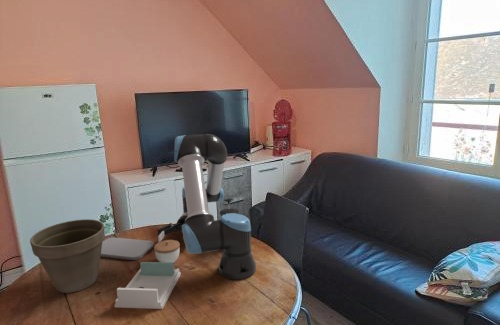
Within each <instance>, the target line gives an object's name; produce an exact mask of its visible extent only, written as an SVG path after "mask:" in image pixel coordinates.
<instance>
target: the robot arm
mask: <svg viewBox="0 0 500 325" xmlns="http://www.w3.org/2000/svg"><path fill="white" fill-rule="evenodd" d="M173 150H174V152H173V153H174V156H173V158H174V159H173V160H174V163H177V165H178V167H180V168H182V169H181V171H182V177H183V186H184V187H182V189H181V190H182V191H181V193H182V195H181V197H182V210H183V213H182V214H181V216H180V217H179V218H178V220H177V221H176V223H175V224H173V223H172V222H170V223H168V224H166V225H165V226H163V227H160V228H158V229H157V235H158V236H157V240H158V241H157V243H159V242H161V241H163V239H164V238H165V236H166V235H169V234H173V233H177V232H181V233H182V237H183V242H184V244H185V249H186V251H187V253H188V254H190V255H194V254H199V255H200V254H204V253H209V252H210V253H211V252H217V251H222V253H221V257H220V261H219V265H218V272H219V274H220V276H222V277H223V278H226V279H229V280H243V279H247V278H249V277H251V276H253V275H254V274H255V273H256V270H257V265H256V263H257V262H256V260H255V258H254V256H253V253H252V237H251V236H252V234H251V233H252V226H251V221H250V219H249V218H248V217H247V216H245V215H244V214H239V213H238V214H235V213H228V214H225V215H222V216H221V215H220V219H218V220H215V219H214V218H215V217H214V215H213V214H212V213H210V210H209V203H217V202H222V201H224V200H225V199H224V198H225V197H224V196H225V193H224V189H223V187H222V181H223V172H224V166H225V163H226V161H227V160H228V159H227V158H228V150H227V147H226V145H225V143H224V142H223V141H222V140H221V138H220V137H218V136H217V135H215V134H211V133H204V134H190V135H188V134H187V135H186V134H184V135H178V136H176V137H175V139H174V149H173ZM205 160H207V162H208V163H207V165H208V166H207V176H206V184H205V179H204V178H205V177H204V172H203V171H204V170H203V165H204V163H205Z"/></svg>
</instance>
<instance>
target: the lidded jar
mask: <svg viewBox="0 0 500 325" xmlns="http://www.w3.org/2000/svg"><path fill="white" fill-rule="evenodd" d="M153 249H154V254H155V258H156V260H157V262H173V263H176V261H177V260H178V258H179V256H180V251H181V250H180V249H181V248H180V242H179V241H178V240H176V239H175V240H174V239H166V240H161V242H157V243H156V244H154V245H153Z"/></svg>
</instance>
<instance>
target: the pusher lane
mask: <svg viewBox="0 0 500 325" xmlns="http://www.w3.org/2000/svg"><path fill="white" fill-rule="evenodd" d="M174 271H175V273H174V274H173V275H141V268H139V270H138V271H137V272H136V274H134V276H133V277H132V278H131V280H130V281H129V282H128V284H127V285H126V286H125V287H117V289H116V295H117V298H116V299H115V300H114V302H115V304H114V308H120V309H121V308H125V309H148V310H150V309H154V310H155V309H156V310H163V309H164V307H165V305H166V303H167V301H168V299H169V298H170V296H171V294H172V292H173V290H174V288H175V286H176V284H177V283H178V280H179V279H180V276H181V274H182V273H181V271H180V268H175V269H174Z"/></svg>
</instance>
